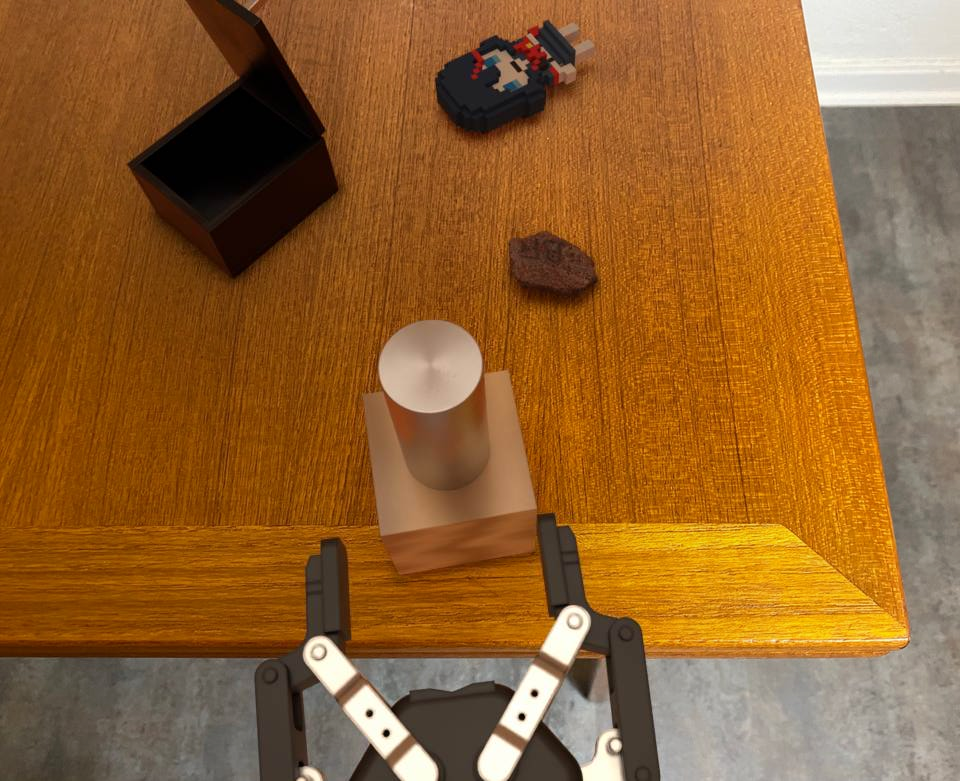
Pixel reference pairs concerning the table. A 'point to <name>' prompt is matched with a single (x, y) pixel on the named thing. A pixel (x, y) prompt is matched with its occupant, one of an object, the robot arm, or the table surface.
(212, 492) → the table surface
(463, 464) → the canister
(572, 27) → the figurine
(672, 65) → the table surface
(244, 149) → the dark brown box
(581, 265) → the stone
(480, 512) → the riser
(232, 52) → the lid
